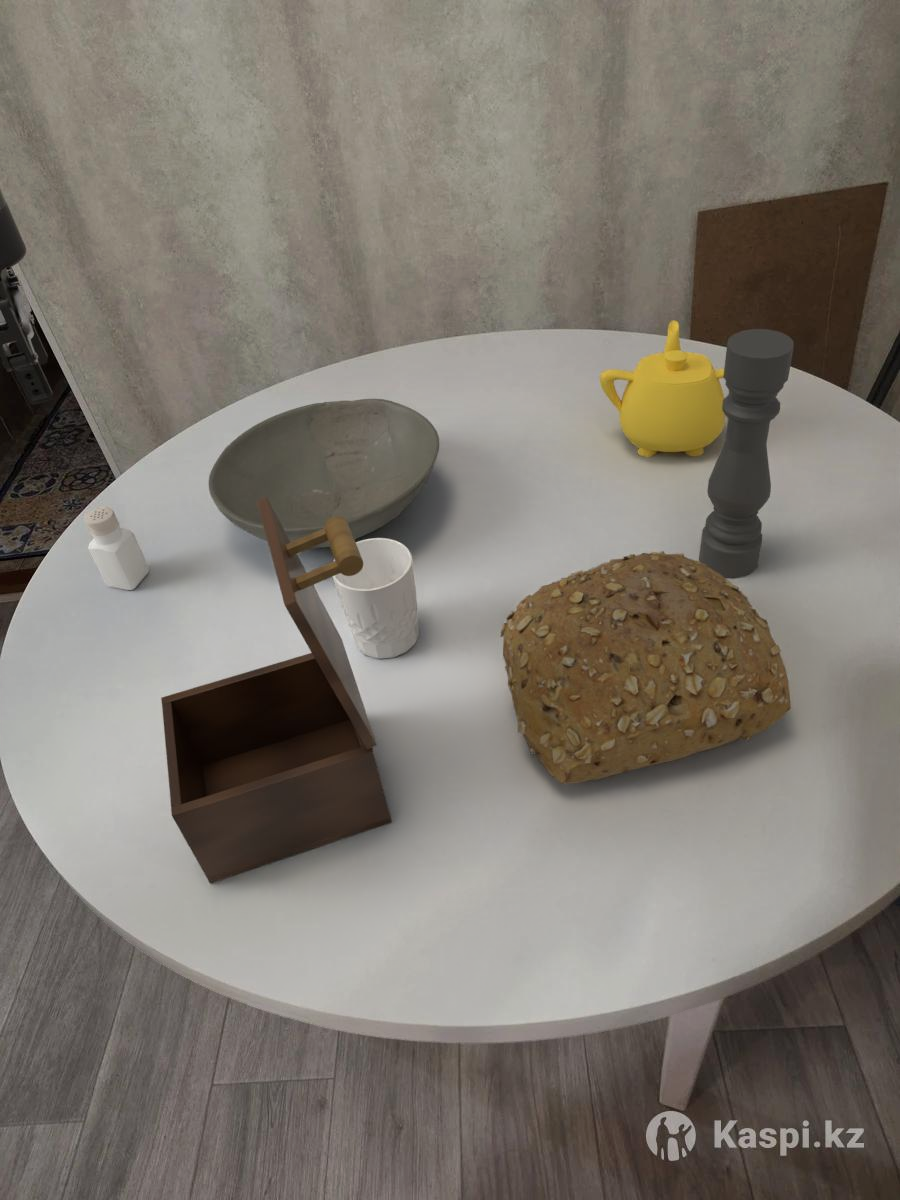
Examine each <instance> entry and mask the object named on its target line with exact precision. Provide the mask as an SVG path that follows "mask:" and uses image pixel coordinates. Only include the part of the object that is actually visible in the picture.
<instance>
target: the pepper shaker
mask: <svg viewBox="0 0 900 1200" xmlns="http://www.w3.org/2000/svg"><path fill="white" fill-rule="evenodd" d="M84 522H85V524H86V526H87V528H88V531H89V532H90V535H91V536H92V537H93V539H92V540H91V541H90V543H89V544H88V549H87V550H88V551H89V554H90V555H91V557H92V559H93V561H94V563H95V566H96V568H97V569H98V572H99V573H100V576H101V578H102V580H103V581H104V583H105V585H106V586H107V587H109V588H114V589H120V590H127V591H132V590H135V589H136V588H137V587H138V585H139V584H141V582H142V581H143V580H144V578H146V577H147V575H148V574H149V571H150V567H149V564H148V562H147V560H146V558H145V555H144V553H143V551H142V548H141V547H140V544H139V542H138V540H137V537H136V535H135V533H134V532H133V531H132V530H131V529H128V528H124V527H121V526H120V522H119V520H118V518H117V515H116V513H115V511H114V509H113V508H112V507H110V506H99V507H95V508H93V509H91V510H90V511H89V512H87V513H86V515H85V516H84Z"/></svg>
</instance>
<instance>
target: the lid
mask: <svg viewBox="0 0 900 1200" xmlns="http://www.w3.org/2000/svg"><path fill="white" fill-rule="evenodd" d="M257 503H258V507H259V511H260V515H261V518H262V522H263V526H264V530H265V533H266V537H267V540H266V541H267V544H268V548H269V551H270V556H271V559H272V563H273V566H274V571H275V574H276V578H277V582H278V585H279V590H280V593H281V596H282V597H281V598H282V601H283V604H284V607H285V609H286V611H287V612H288V614H289V615H290V617H291V619H292V620H293V622H294V624H295V627H296V628H297V630H298V631H299V633H300V635H301V636H302V638H303V640H304V642H305V644H306V645H307V646H308V649H309V650H310V653H312V654H313V656H314V657H315V659H316V661H317V663H318V664H319V666H320V668H321V670H322V671H323V673H324V675H325V676H326V678H327V680H328V682H329V683H330V685H331V687H332V689H333V690H334V692H335V694H336V696H337V697H338V699H339V701H340V703H341V704H342V706H343V708H344V710H345V711H346V713H347V715H348V717H349V718H350V720H351V722H352V723H353V725H354V727H355V729H356V730H357V732H358V734H359V736H360V737H361V739H362V741H363V743H364V744H365V746H366V748H367V749H369V748H372V749H373V747H376V746H377V741H376V739H375V736H374V733H373V730H372V727H371V722H370V720H369V717H368V713H367V711H366V708H365V705H364V702H363V699H362V695H361V693H360V690H359V688H358V683H357V681H356V678H355V675H354V671H353V669H352V666H351V663H350V659H349V657H348V654H347V651H346V647H345V644H344V641H343V638H342V637H341V635H340V632H339V631H338V629H337V627H336V626H335V623H334V622H333V620H332V618H331V615H330V614H329V612H328V610H327V609H326V607H325V604H324V602H323V600H322V598H321V596H320V595H319V593H318V591H317V589H316V588H315V586H314V585H315V584H318V583H321V582H323V581H326V580H328V579H330V578H333V576H335V575H337V574H339V573H341V574H343V575H345V576H353V575H356V574H357V573H359V572H360V571H361V570H362V568H363V560H362V557H361V555H360V552H359V550H358V547H357V545H356V542H357V541H356V539H355V540H354V537H353V535H352V532H351V530H350V527H349V524H348V522H347V520H346V519H345V518H343V517H341V516H334V517H331V518H329V519H328V520H327V521H326V522H325V524H324V528H323V529H321V530H319V531H316V532H314V533H312V534H309V535H307V536H305V537H302V538H300V539H297V540H295V541H293V542H290V540H289V538H288V536H287V534H286V532H285V531H284V529H283V527H282V525H281V523H280V521H279V519H278V517H277V515H276V514H275V512H274V510H273V508H272V506H271V504H270V502H269V500H268V498H267V497H264V498H262V499H260V500H257ZM326 541H328V542H329V545H330V547H329V549H330V551H331V553H332V556H333V558H334V559H335V561H334V559H333V561H330V562H328V563H326V564H324V565H321V566H319V567H316V568H314V569H312V570H309V571H306V568H305V567H304V565H303V563H302V561H301V559H300V557H299V555H298V554H300V553H302V552H305V551H308V550H309V549H313V548H312V547H314V546H317V545H319V544H321V543H324V542H326Z"/></svg>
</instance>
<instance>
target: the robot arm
mask: <svg viewBox="0 0 900 1200" xmlns="http://www.w3.org/2000/svg"><path fill="white" fill-rule="evenodd" d="M15 221H16V220H15V219H14V216H13V214H12V212H11V210H10V207H9V204H8V203H7V201H6V198H5V196H4V194H3V191H2V189H1V188H0V359H1V362H2V366H3V368H4V369H6V372H12V371H13V373H14V375H15V377H16V379H17V381H18V383H19V385H20V387H21V389H22V392H23V394H24V395H25V398H26V400H27V401H28V404H30V405H35V406H36V405H38V404H42V403H43V404H44V403H46V402H50V401H51V400H52V399H53V398H54V395H53V390H52V388H51V386H50V384H49V382H48V379H47V377H46V375H45V373H44V371H43V369H42V367H41V365H45V364H47V363H48V362H49V356H48V353H47V351H46V349H45V347H44V345H43V343H42V340H41V338H40V336H39V334H38V332H37V330H36V327H35V318H34V315H33V314H31V312H32V307H31V304H30V301H29V299H28V296H27V295H26V292H25V290H24V289H25V288H24V286H23V284H22V283H23V282H22V280H21V279H20V277H19V275H16V274H15V271H14V270H13V267H14V266H16V265H17V264H19V263H20V262H21V261H22V260H23V259H24V258H25V256H26V254H27V246H26V244H25V242H24V240H23V237H22V235H21V233H20V230H19V228H18V225H17V224H16V222H15ZM13 343H14V344H15V346H16V348H17V350H18V352H17V353H14V354H13V353H12V352H11V350H10V344H13Z"/></svg>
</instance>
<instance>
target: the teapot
mask: <svg viewBox="0 0 900 1200" xmlns="http://www.w3.org/2000/svg"><path fill="white" fill-rule="evenodd" d="M723 375H724V368H718V369H715V368H714V366H713V364H712V362H711V360H710V359H709V358H708V357H707V356H706V355H704V354H701V353H697V352H691V351H683V350H681V342H680V324H679V322H678V321H677V320H674V319H673V320H671V321H670V322H669V324H668V328H667V335H666V341H665V346H664V349H663V352H656V353H652V354H648V355H646V356H644V357H642V358H641V359H640V360H639V362H638V363H637V365H636V366H635V368H634V369H633V371H629V370H626V369H625V370H624V369H614V368H613V369H612V368H611V369H609V368H608V369H605V370H603V371H602V372H601V374H600V375H599V383H600V386H601V389H602V391H603V392H604V394H605V396H606V397H607V398H608V400H609V401H610V402H611V404H612V405H613V406H614V407H615V408H616V410H618V412H619V418H618V419H619V425H620V427H621V430H622V432H623V435H624V436H625V437H626V438H627V440H629V442H630V443H631V444H632V445H634V446H636V447H637V448H638V449H637V453H638V455H640V456H641V457H646V458H649V457H653V456H655V455H656V454H657V452H664V453H665V452H666V453H677V452H678V453H679V452H684V453H685V455H687V456H689V457H700V456H702V455H703V454H704V452H705V450H704V448H705V447H707V446H709V445H711V444H712V443H713V442H714V441H715V440H717V438H718V437H719V436H720V435H721V433H722V432H723V430H724V426H725V420H726V415H725V414H724V412H723V411H722V405H723V400H724V399H725V396H724V392H723V387H722V384H721V382H720V379H724V377H723ZM617 380H618V381H619V380H621V381H622V380H623V381H626V382H627V383H626V386H625V388H624V391H623V394H622V398H621V397H620V396H619V395H618V393H617V389H616V386H615V384H614V382H615V381H617ZM728 395H729V393H728V394H727V396H728Z"/></svg>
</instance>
